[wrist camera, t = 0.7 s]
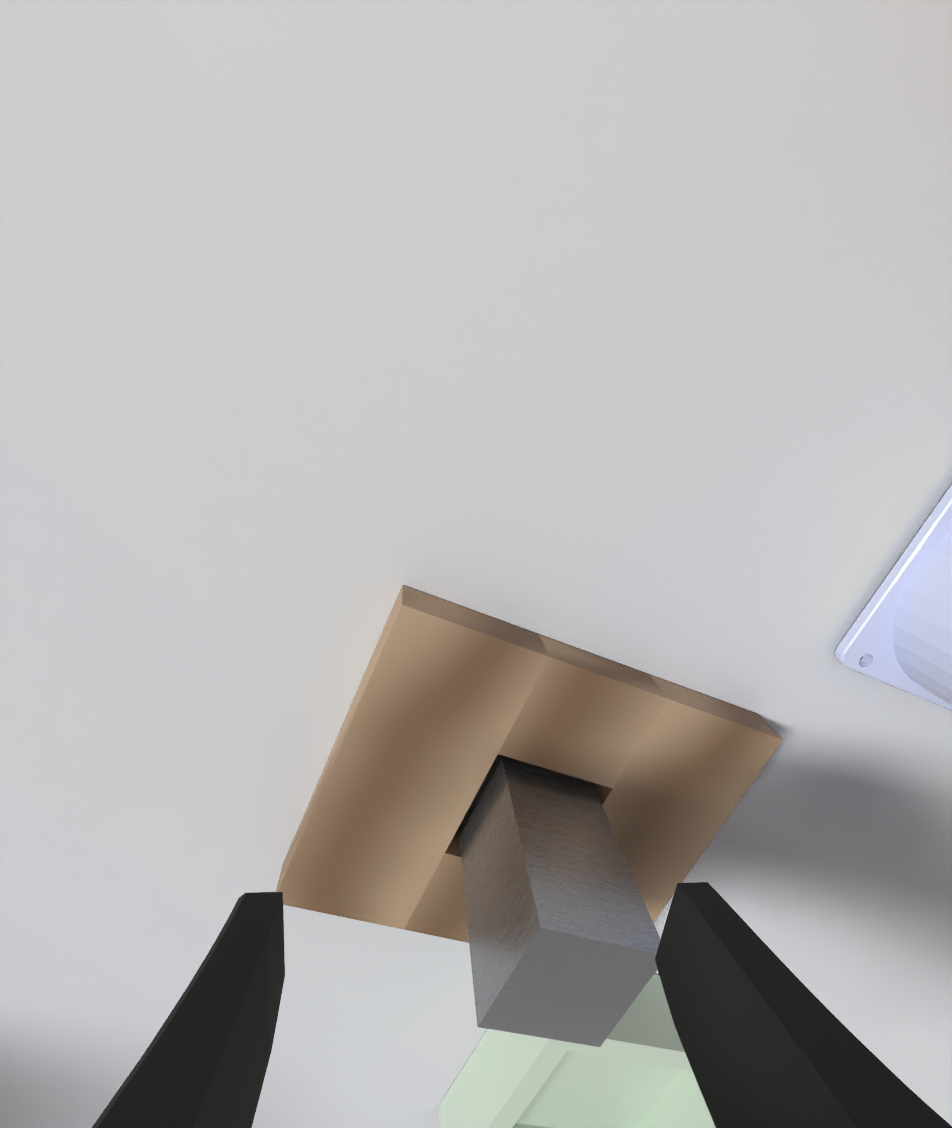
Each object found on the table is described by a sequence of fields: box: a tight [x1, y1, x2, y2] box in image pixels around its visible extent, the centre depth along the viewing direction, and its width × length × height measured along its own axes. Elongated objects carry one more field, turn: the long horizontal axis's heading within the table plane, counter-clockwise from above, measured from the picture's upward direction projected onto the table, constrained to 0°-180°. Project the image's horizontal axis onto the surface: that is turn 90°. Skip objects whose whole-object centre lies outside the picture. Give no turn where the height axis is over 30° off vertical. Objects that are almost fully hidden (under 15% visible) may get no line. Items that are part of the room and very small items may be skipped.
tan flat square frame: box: [276, 585, 783, 943], centre depth 19 cm, size 14×12×2 cm
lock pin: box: [458, 754, 661, 1047], centre depth 17 cm, size 4×4×7 cm
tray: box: [439, 974, 716, 1128], centre depth 24 cm, size 11×11×3 cm
